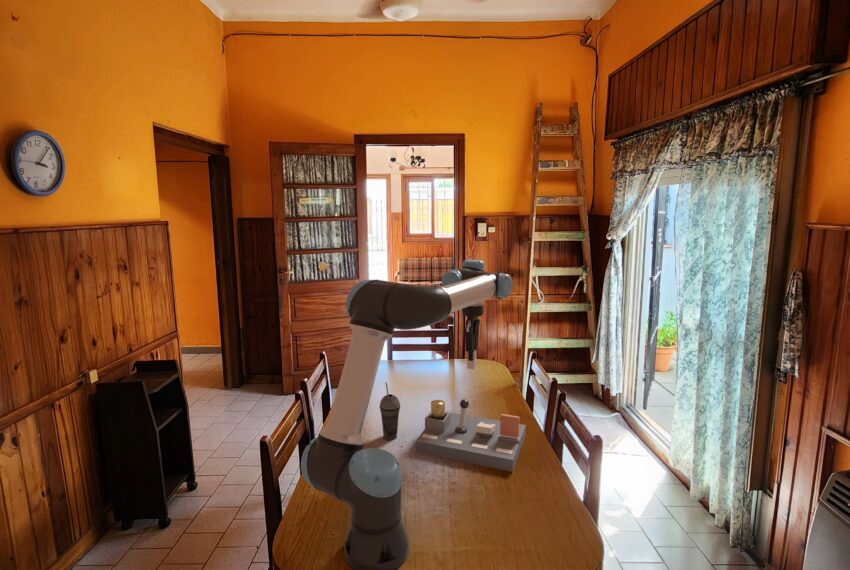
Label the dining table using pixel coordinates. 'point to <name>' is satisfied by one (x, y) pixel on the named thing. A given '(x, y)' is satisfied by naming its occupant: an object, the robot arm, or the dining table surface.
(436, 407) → the push button
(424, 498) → the dining table surface
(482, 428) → the block
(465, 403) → the toggle lever
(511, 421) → the red square plate
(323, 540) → the dining table surface
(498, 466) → the console
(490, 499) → the dining table surface
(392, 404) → the beverage cup
